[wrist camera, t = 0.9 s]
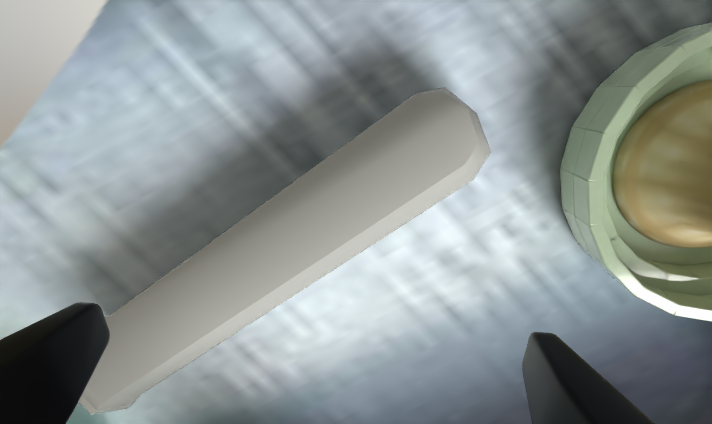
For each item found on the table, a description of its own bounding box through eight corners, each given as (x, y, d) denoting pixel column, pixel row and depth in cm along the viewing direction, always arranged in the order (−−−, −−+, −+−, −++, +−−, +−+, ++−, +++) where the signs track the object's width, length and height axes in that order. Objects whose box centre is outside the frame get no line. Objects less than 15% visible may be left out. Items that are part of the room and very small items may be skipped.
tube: (439, 44, 16) (40, 341, 22) (517, 154, 16) (83, 433, 21) (446, 83, 22) (122, 316, 27) (505, 167, 21) (158, 389, 26)
